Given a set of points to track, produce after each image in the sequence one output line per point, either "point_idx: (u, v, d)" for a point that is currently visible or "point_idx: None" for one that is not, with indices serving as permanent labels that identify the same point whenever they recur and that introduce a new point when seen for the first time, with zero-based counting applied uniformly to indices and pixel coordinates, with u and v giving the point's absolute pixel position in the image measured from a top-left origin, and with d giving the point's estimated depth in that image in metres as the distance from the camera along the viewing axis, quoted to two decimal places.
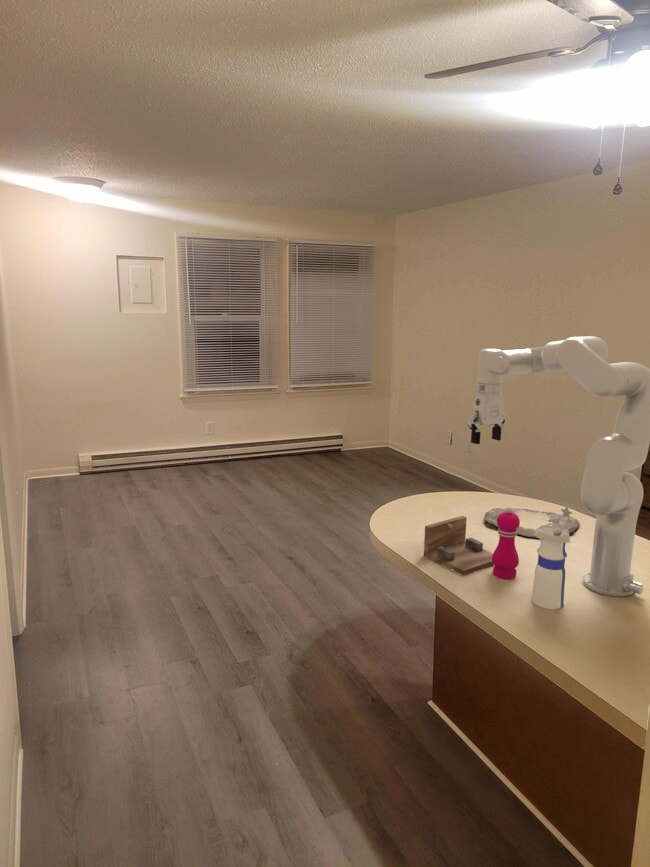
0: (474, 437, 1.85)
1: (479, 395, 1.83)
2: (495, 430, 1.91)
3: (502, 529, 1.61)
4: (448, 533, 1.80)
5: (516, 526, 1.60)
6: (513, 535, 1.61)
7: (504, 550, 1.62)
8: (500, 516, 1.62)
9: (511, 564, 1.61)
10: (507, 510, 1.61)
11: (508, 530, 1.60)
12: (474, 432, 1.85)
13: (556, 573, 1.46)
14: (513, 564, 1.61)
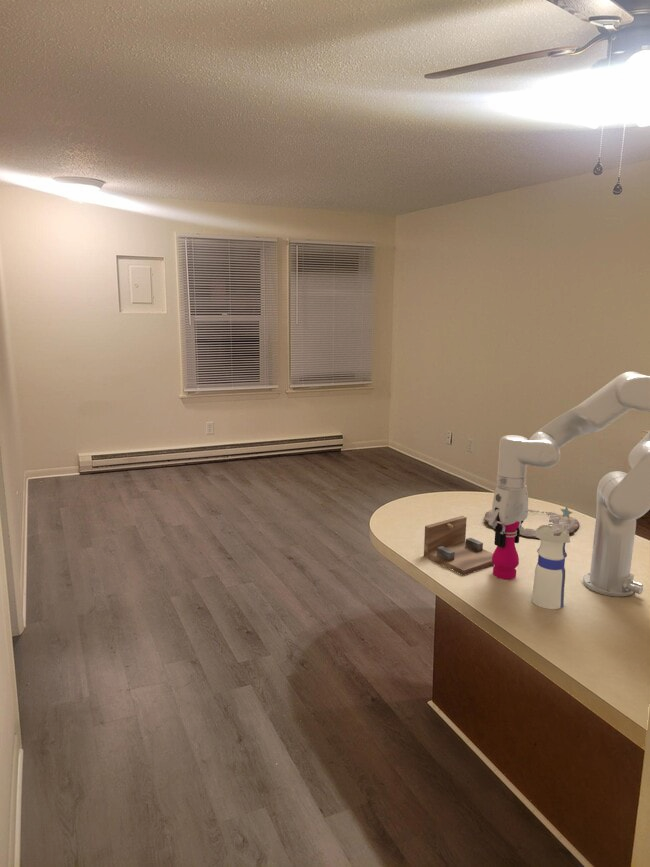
0: (498, 540, 1.61)
1: (500, 490, 1.58)
2: None
3: None
4: (448, 533, 1.80)
5: (516, 526, 1.60)
6: (513, 535, 1.61)
7: (504, 550, 1.62)
8: None
9: (511, 564, 1.61)
10: None
11: (508, 530, 1.60)
12: (498, 534, 1.61)
13: (556, 573, 1.46)
14: (513, 564, 1.61)
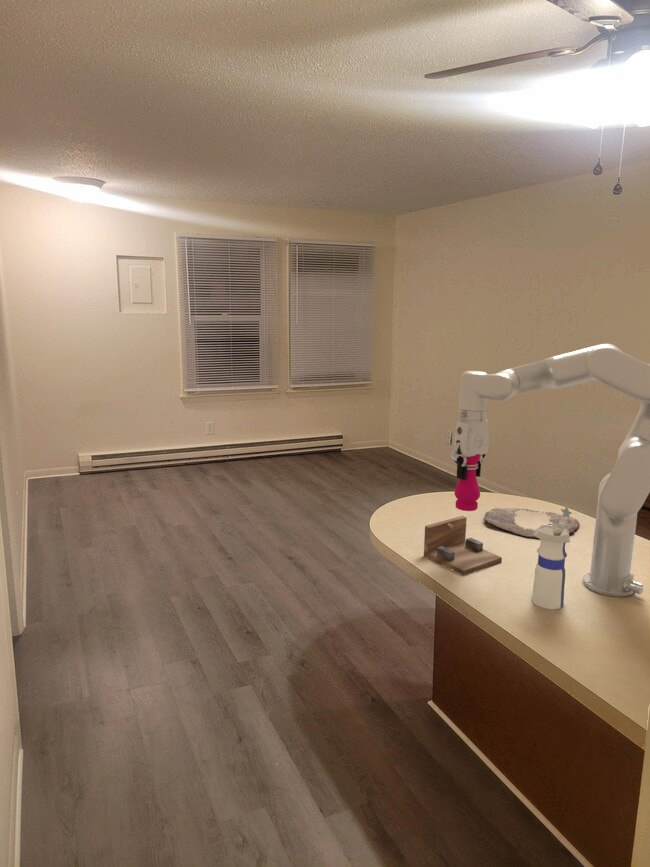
0: (460, 472, 1.67)
1: (461, 423, 1.64)
2: None
3: None
4: (448, 533, 1.80)
5: (477, 458, 1.66)
6: (474, 467, 1.67)
7: (466, 483, 1.68)
8: None
9: (472, 496, 1.68)
10: None
11: (469, 462, 1.67)
12: (460, 467, 1.67)
13: (556, 573, 1.46)
14: (474, 495, 1.68)
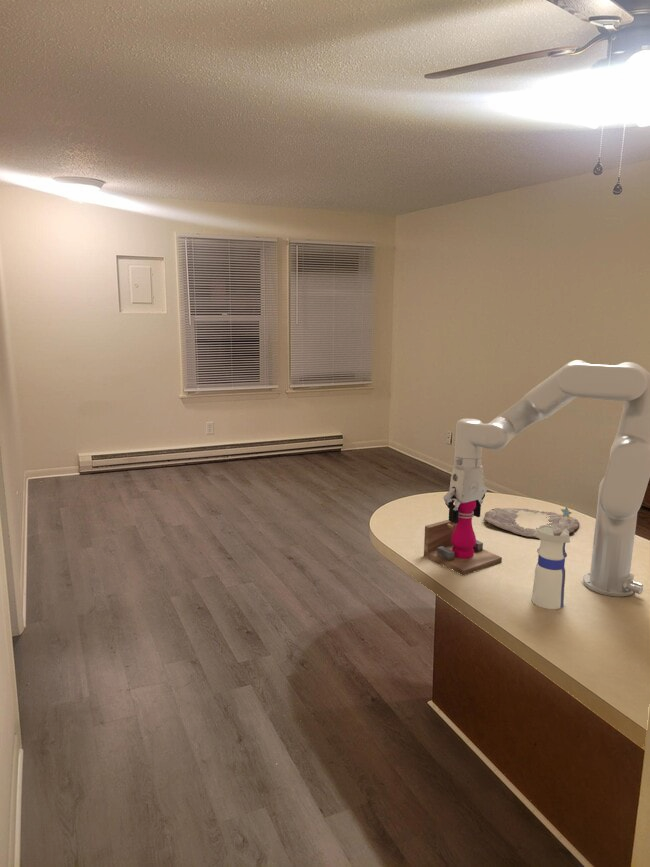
0: (452, 516, 1.69)
1: (456, 470, 1.67)
2: None
3: (459, 511, 1.71)
4: (448, 533, 1.80)
5: (472, 508, 1.70)
6: (470, 516, 1.71)
7: (462, 531, 1.72)
8: None
9: (468, 544, 1.71)
10: None
11: (465, 511, 1.70)
12: (452, 510, 1.69)
13: (556, 573, 1.46)
14: (470, 543, 1.71)
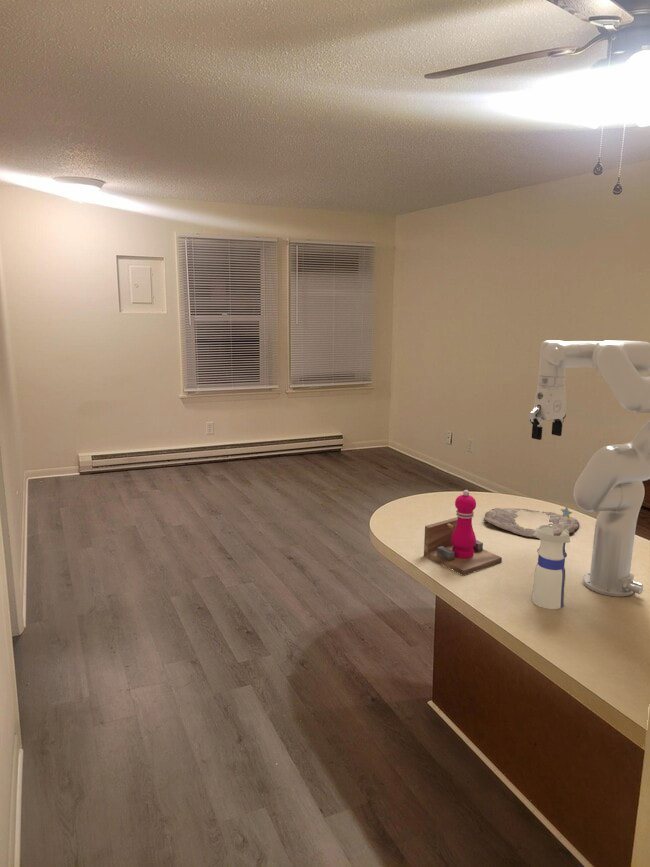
0: (536, 432, 1.78)
1: (541, 388, 1.76)
2: (555, 425, 1.84)
3: (459, 511, 1.71)
4: (448, 533, 1.80)
5: (472, 508, 1.70)
6: (470, 516, 1.71)
7: (462, 531, 1.72)
8: (458, 498, 1.71)
9: (468, 544, 1.71)
10: (464, 493, 1.71)
11: (465, 511, 1.70)
12: (536, 427, 1.77)
13: (556, 573, 1.46)
14: (470, 543, 1.71)
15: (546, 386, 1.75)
